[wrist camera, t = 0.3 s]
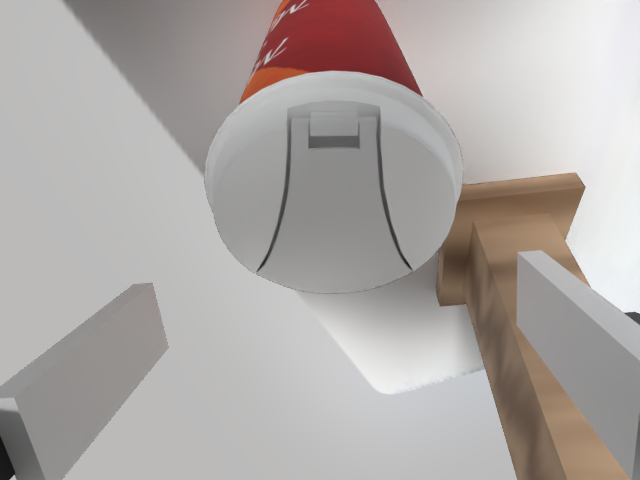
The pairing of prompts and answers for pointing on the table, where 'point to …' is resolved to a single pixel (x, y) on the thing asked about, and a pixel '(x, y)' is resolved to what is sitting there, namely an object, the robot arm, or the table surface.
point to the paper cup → (333, 156)
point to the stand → (501, 320)
